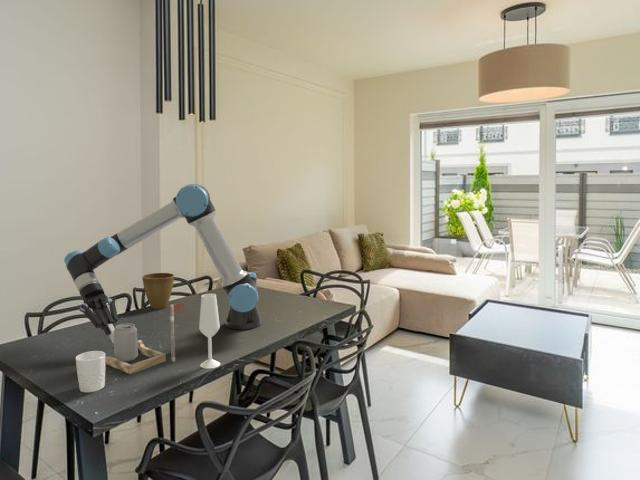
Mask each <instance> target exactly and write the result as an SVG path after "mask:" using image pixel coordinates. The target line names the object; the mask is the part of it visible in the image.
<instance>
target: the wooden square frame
mask: <svg viewBox="0 0 640 480" xmlns="http://www.w3.org/2000/svg"><path fill="white" fill-rule="evenodd" d="M184 312H185V302H183V301H182V302H179V303H175V304H169V322H170V323H169V325H170V329H169V330H170V333H169V334H170V353H171V354H170V355H171V356H170V357H171V363H175V362H176V351H175V350H176V348H175V347H176V346H175V322H174V321H175V316H174V315H176V314H180V313H184ZM137 342H138V350H139V351H140V353H141V355H142V356H143V355H144V356H146V357H148V358H146V359H144V360H141V361H138V362H135V363H132V364H131V363H129V362H123V361H121V360H118V359H116V358H115V356H114V357H113V356H107V355H105V366H110V367H112V368H115V369H117V370H120V371H122V372H124V373H127V374H129V375H132V374H135V373H137V372H140V371H142V370H147V369H148V368H152V367H153V366H156V365H158V364H159V365H160V364H162V363H164V362H166V361H167V354H166V353H164V352H161V351H158V350H155V349H152V348H150V347H147V346H145V344H144V342H143V341H142V339H139V340H138V339H137Z"/></svg>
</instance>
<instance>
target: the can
mask: <svg viewBox="0 0 640 480" xmlns="http://www.w3.org/2000/svg"><path fill="white" fill-rule="evenodd" d="M135 325H136V324H134V323H131V322H130V323H129V322H128V323H120V324H117V325H116V327H115V328H116V329H115V330H114V332H113V334H114V344H113V348H114V349H113V351H114V358H116V359H118V360H121V361H123V362H126V363H129V362H133V361H134V360H136V358H137V357H138V356H139V351H138V350H139V348H138V329H137V327H135Z"/></svg>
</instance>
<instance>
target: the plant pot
mask: <svg viewBox="0 0 640 480" xmlns="http://www.w3.org/2000/svg"><path fill="white" fill-rule="evenodd" d="M141 277H142V284H143V288H144V292H145V296H146V299H147V301H148V304H149V306H150V308H151V309H153V310H154V309H155V310H160V309H166V308H168V305H169V301H170V300H171V295H172V292H173V287H174V280H175V274H174V273H169V272H153V273H146V274H144V275H142V276H141Z"/></svg>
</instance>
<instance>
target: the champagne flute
mask: <svg viewBox="0 0 640 480" xmlns="http://www.w3.org/2000/svg"><path fill="white" fill-rule="evenodd" d="M200 297H201V299H200V311H199V323H198V328H199V331H200V333H201V334H202V335H204V336H205V337H206V338H207V351H208V353H207V355H208V357H207V358H208V359H206V360H205V361H204V362H202V363H201V364H200V367H201V368H203V369H216V368H218V367H220V366H221V362H220V361H218V360H215V359H213V355H212V354H213V346H212V345H213V344H212V341H213V340H212V339H213V338H212V337H214V336H215V335H216V334H217V333H218V331H219V330H220V327H221V326H220V318H219V316H220V315H219V308H218V302H217V301H218V300H217V294H216V293H205V294H202V295H201V296H200Z"/></svg>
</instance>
